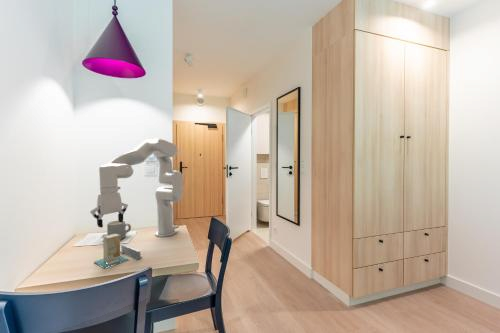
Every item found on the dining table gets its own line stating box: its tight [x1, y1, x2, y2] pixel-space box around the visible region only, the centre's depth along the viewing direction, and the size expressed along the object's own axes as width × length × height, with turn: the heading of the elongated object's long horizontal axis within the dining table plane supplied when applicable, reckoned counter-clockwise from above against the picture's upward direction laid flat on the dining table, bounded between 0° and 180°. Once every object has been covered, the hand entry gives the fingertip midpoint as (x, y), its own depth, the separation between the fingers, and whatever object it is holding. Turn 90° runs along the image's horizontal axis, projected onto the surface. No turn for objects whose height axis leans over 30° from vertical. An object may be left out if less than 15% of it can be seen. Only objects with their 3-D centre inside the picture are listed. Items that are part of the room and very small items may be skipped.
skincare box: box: [102, 234, 121, 263], centre depth 120 cm, size 6×4×12 cm
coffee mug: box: [106, 220, 132, 240], centre depth 154 cm, size 13×10×10 cm
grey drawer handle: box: [120, 244, 143, 261], centre depth 127 cm, size 3×16×4 cm, turn 56°
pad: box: [93, 255, 129, 269], centre depth 120 cm, size 11×11×1 cm
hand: (110, 224), depth 120 cm, fingers open, 9 cm apart
